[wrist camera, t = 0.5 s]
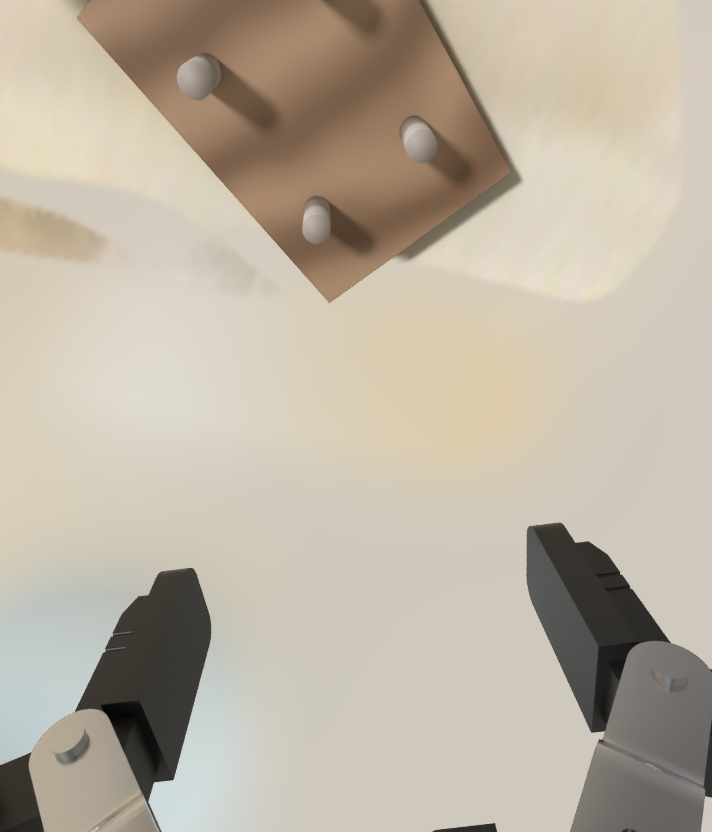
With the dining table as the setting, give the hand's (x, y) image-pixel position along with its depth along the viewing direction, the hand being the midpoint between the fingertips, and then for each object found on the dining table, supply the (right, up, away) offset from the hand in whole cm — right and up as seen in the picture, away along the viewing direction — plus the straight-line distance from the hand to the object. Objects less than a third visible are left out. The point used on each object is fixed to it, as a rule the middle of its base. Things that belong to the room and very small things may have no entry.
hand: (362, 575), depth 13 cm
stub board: (-3, +22, +18) cm, 28 cm away
